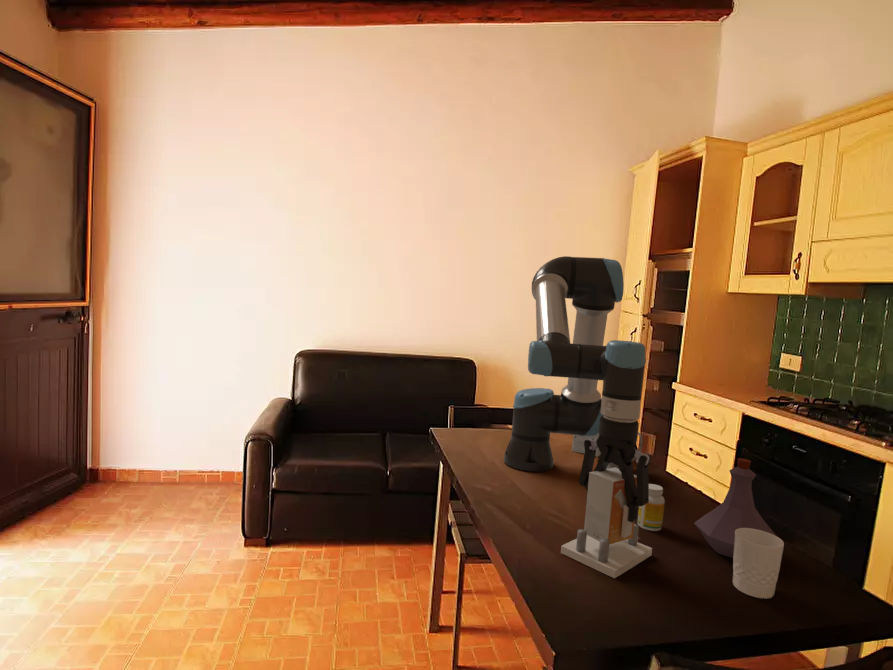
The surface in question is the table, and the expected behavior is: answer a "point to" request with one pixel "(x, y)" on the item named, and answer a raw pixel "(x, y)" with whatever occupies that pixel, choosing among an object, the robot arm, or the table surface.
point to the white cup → (756, 562)
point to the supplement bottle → (652, 510)
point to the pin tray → (614, 557)
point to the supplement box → (579, 443)
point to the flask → (733, 512)
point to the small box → (606, 505)
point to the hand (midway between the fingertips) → (608, 528)
